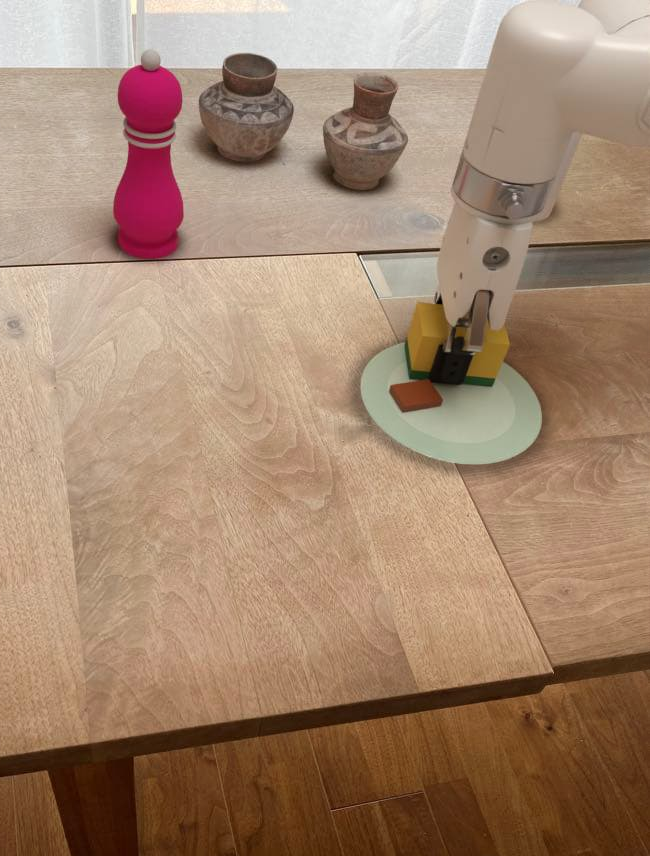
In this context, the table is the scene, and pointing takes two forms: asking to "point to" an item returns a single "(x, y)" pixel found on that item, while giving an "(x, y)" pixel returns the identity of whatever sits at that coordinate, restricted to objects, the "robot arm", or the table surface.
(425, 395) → the block
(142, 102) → the pepper mill
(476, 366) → the sponge
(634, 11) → the robot arm
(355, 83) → the pottery
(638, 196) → the table surface
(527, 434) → the plate
